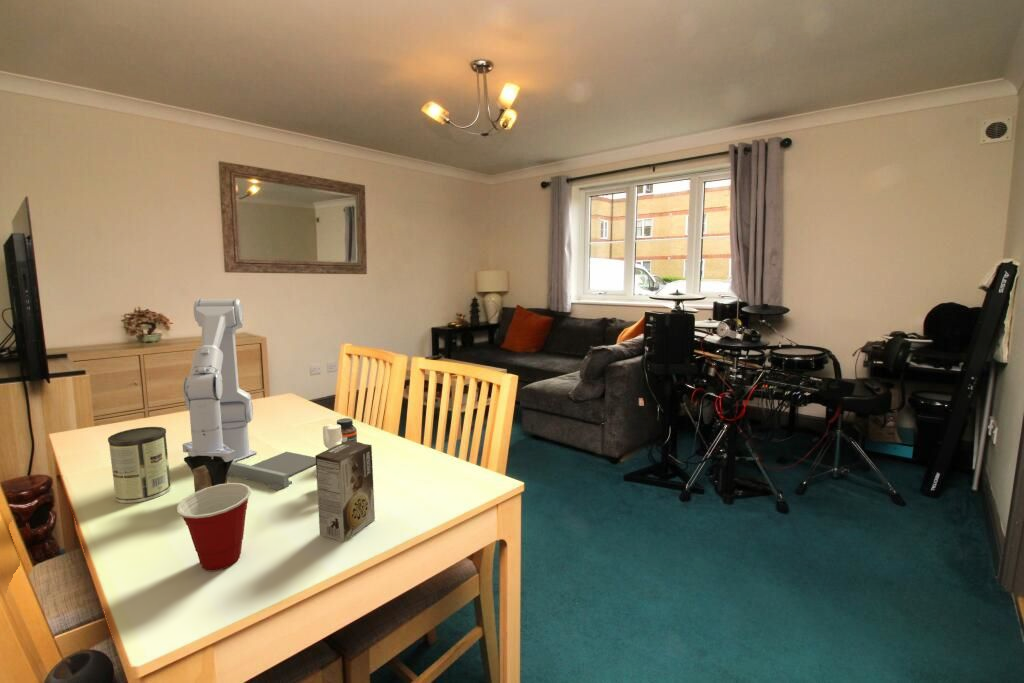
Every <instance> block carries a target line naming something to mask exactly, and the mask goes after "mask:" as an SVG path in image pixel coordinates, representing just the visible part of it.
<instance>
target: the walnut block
mask: <svg viewBox="0 0 1024 683" xmlns="http://www.w3.org/2000/svg"><path fill="white" fill-rule="evenodd" d="M192 475H193V487H194V493H195V492H197V491H200V490H202V489H205V488H208V487H212V483H211V478H210V474H209V472H208V470H207V468H206V466H205V465H203V466H201V467H198V468H195V469H193V472H192ZM227 483H228V476H226V481H225V484H227Z"/></svg>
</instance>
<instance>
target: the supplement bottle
mask: <svg viewBox="0 0 1024 683" xmlns="http://www.w3.org/2000/svg"><path fill="white" fill-rule="evenodd" d="M353 423H354V422H353V419H352V418H351V417H349V418H339V419H337V420H336V425H337V424H338V425H341V433H342V441H341V442H342V443H343V442H345V441H354V442H358V434H357V433H358V432H357V428H356V426H354V425H353Z"/></svg>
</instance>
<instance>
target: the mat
mask: <svg viewBox="0 0 1024 683" xmlns="http://www.w3.org/2000/svg"><path fill="white" fill-rule="evenodd" d="M251 466H255V467H259V468H263V469H268V470H272V471H277V472H281V473H286V474H288V479H290V478H291V477H293V476H296V475H297V474H300V473H301V472H304V471H306V470H309V469H311V468H314V467H316V457H315V456H309V455H306V454H302V453H301V454H300V453H295V452H291V451H284V452H282V453H279V454H277V455H275V456H272V457H269V458H267V459H264V460H262V461H260V462H256V463H254V464H252V465H251Z"/></svg>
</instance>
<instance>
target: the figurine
mask: <svg viewBox="0 0 1024 683" xmlns="http://www.w3.org/2000/svg"><path fill="white" fill-rule="evenodd" d="M322 438H323V445H324V446H325V448H326V449H327V450H328V449H330V448H333V447H335V446H337V445H339V444H341V443H342V442H341V441H342V433H341V425H338V424H337V423H336V424H335V425H333V424H330V423H329V424H325V425H323V427H322ZM314 473H315V475H316V476H317V473H316V472H314Z"/></svg>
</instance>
